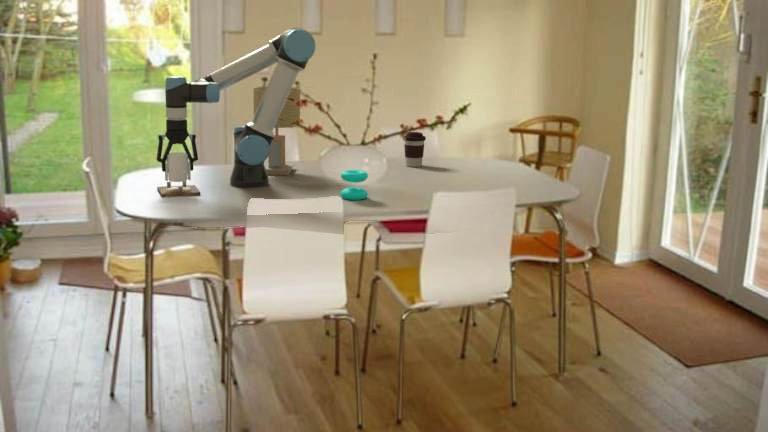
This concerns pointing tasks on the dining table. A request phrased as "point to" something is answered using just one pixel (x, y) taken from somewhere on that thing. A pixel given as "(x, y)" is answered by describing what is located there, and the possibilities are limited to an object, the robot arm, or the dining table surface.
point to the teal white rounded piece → (354, 192)
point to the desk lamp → (277, 147)
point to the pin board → (178, 190)
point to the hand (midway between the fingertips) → (177, 179)
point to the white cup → (177, 166)
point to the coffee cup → (414, 149)
